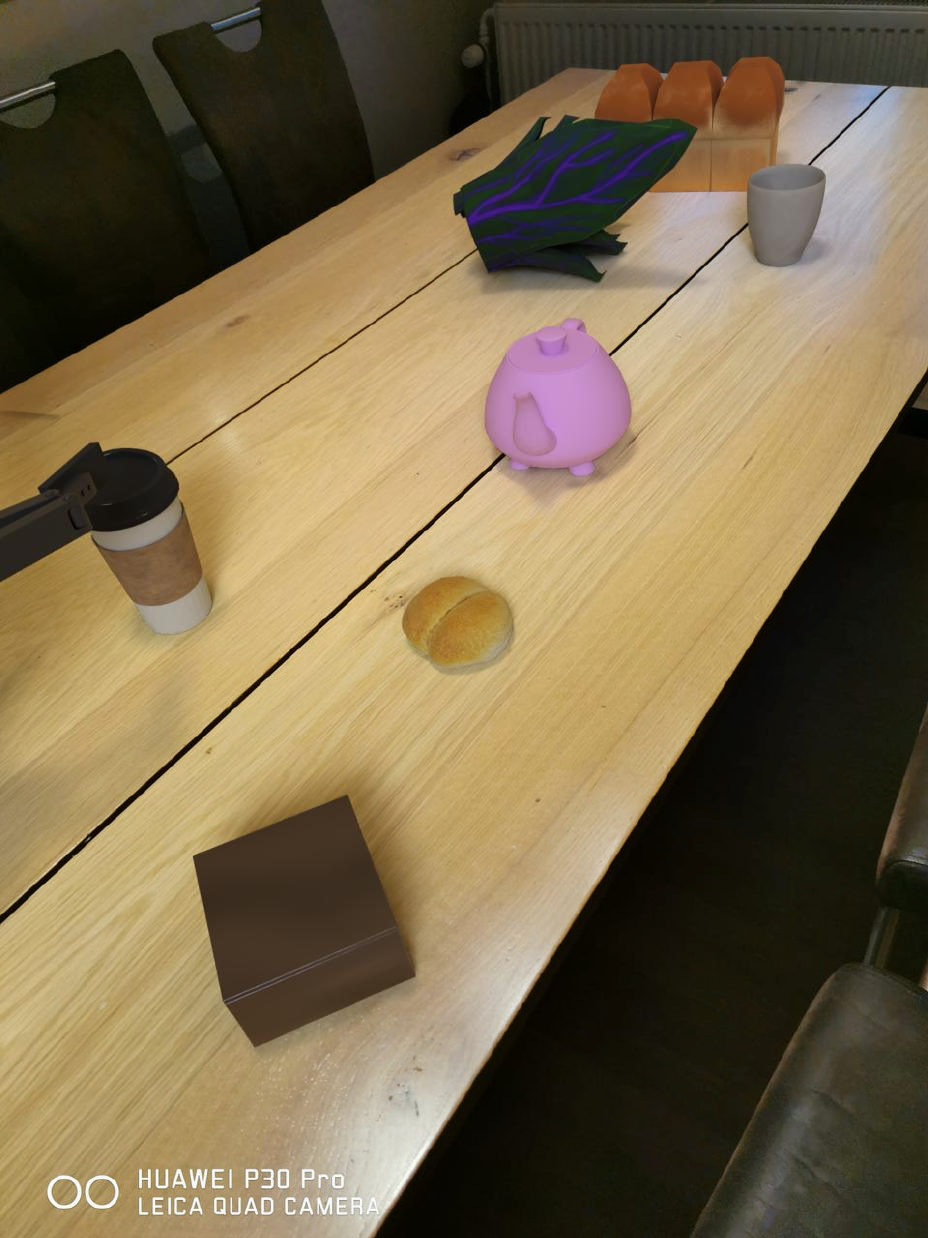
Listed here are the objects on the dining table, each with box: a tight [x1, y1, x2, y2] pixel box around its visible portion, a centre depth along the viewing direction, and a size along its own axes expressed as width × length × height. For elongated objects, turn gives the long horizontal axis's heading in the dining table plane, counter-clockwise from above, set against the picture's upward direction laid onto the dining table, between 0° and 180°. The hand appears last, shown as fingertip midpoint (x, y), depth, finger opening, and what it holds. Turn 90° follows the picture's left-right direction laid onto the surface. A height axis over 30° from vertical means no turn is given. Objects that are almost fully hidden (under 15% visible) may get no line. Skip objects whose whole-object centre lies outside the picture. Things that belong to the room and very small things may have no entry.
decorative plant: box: [452, 114, 698, 283], centre depth 118 cm, size 21×26×30 cm
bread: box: [593, 56, 786, 193], centre depth 137 cm, size 25×12×15 cm, turn 71°
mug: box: [746, 163, 827, 267], centre depth 117 cm, size 12×9×10 cm
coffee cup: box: [83, 447, 213, 635], centre depth 79 cm, size 8×8×15 cm
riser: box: [192, 793, 416, 1048], centre depth 57 cm, size 10×10×6 cm
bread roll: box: [401, 575, 514, 670], centre depth 76 cm, size 8×9×4 cm
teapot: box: [483, 317, 633, 477], centre depth 90 cm, size 20×14×12 cm
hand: (20, 464), depth 69 cm, fingers open, 13 cm apart
